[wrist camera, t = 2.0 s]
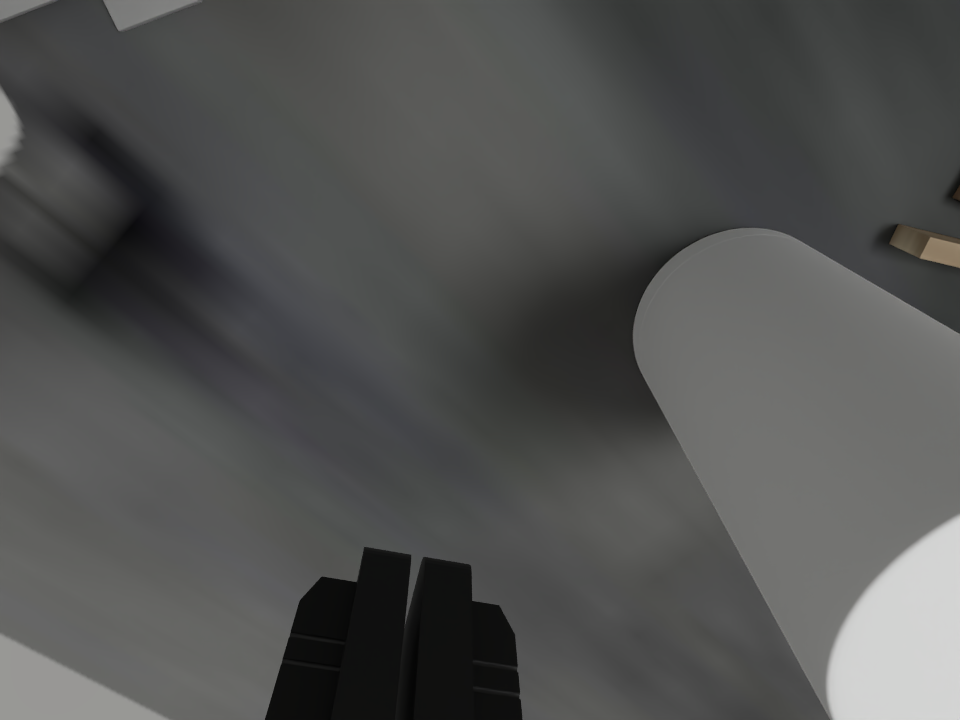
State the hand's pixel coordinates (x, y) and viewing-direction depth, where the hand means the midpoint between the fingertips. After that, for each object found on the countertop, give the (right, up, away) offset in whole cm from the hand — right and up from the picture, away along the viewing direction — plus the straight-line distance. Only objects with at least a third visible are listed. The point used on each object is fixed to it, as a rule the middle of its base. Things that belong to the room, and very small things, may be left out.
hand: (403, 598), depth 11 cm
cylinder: (+17, +6, +32) cm, 37 cm away
